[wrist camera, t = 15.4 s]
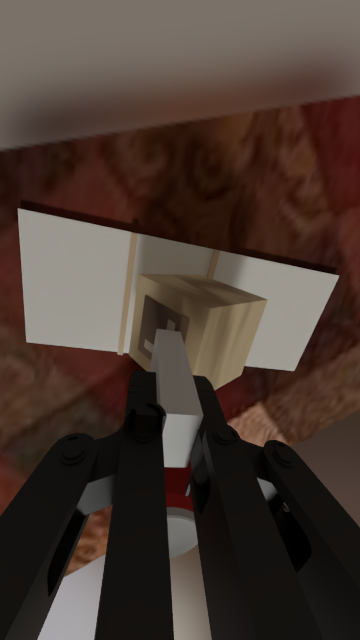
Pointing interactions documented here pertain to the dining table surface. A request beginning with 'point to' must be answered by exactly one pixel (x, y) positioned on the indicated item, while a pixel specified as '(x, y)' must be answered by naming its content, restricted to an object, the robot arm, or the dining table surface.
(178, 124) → the dining table surface
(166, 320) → the tan cube
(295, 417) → the dining table surface
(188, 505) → the canned food
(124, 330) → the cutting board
